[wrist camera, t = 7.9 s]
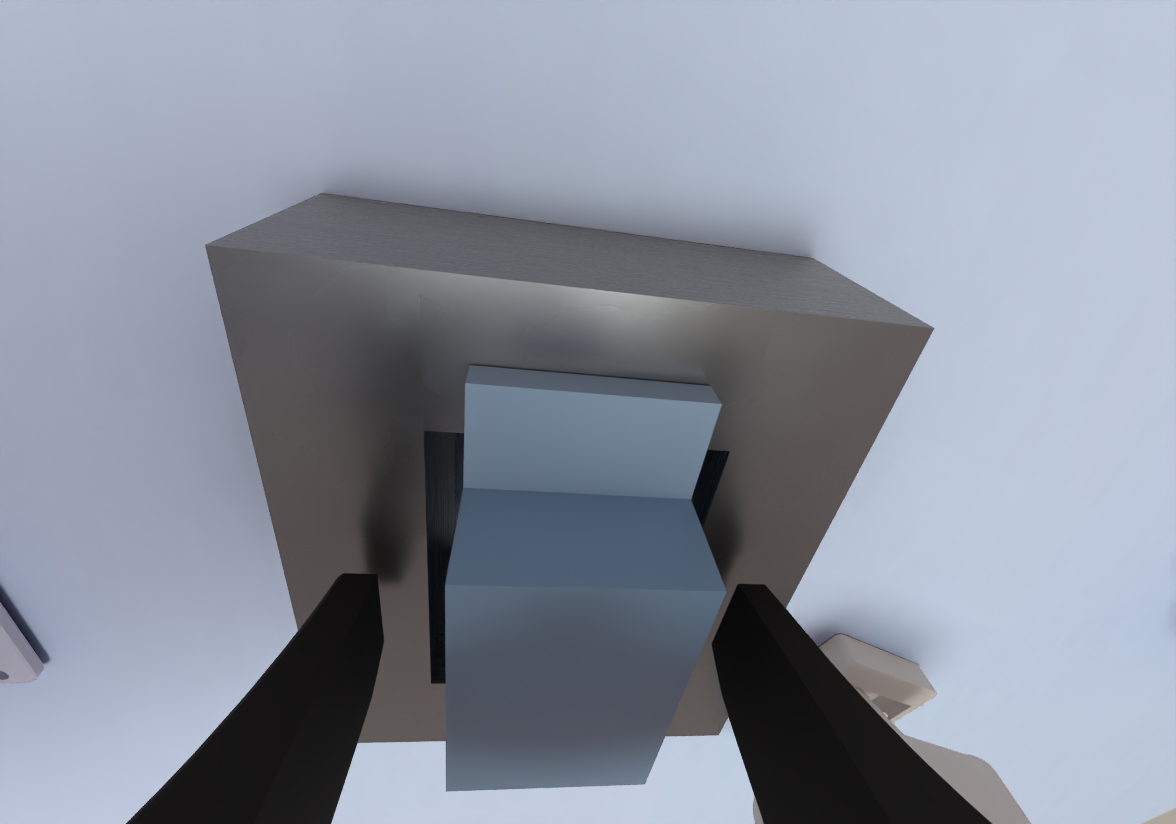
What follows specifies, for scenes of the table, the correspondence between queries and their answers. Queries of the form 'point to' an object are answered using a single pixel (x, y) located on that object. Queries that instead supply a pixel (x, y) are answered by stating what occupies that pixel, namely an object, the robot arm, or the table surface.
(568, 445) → the block
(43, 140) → the table surface
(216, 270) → the frame
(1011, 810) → the security camera
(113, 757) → the table surface
